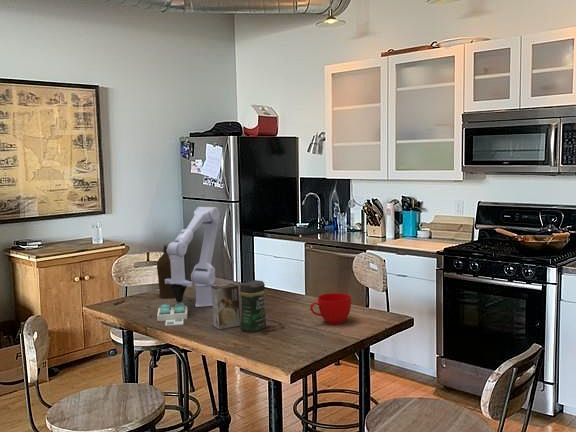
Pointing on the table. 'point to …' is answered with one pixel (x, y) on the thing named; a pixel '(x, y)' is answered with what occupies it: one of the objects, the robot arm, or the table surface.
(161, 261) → the olive oil
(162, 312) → the button
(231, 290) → the coffee box
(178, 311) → the button
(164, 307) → the button
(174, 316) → the button board
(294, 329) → the table surface
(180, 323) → the card
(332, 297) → the ceramic cup
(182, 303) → the button
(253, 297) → the coffee jar
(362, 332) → the table surface
